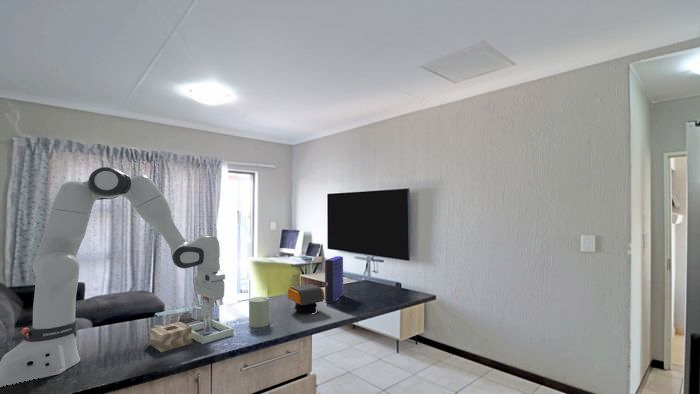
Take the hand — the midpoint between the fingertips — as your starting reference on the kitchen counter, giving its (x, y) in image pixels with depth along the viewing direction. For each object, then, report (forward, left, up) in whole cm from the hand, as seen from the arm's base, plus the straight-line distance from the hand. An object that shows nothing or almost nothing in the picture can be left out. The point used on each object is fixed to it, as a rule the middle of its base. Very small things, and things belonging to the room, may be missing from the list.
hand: (208, 307), depth 143 cm
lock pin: (0, 0, -10) cm, 10 cm away
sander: (+51, -1, -12) cm, 52 cm away
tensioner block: (-14, 0, -12) cm, 19 cm away
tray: (0, 0, -12) cm, 12 cm away
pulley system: (+2, +25, -13) cm, 28 cm away
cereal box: (+78, +1, -12) cm, 79 cm away
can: (+23, -4, -12) cm, 26 cm away
